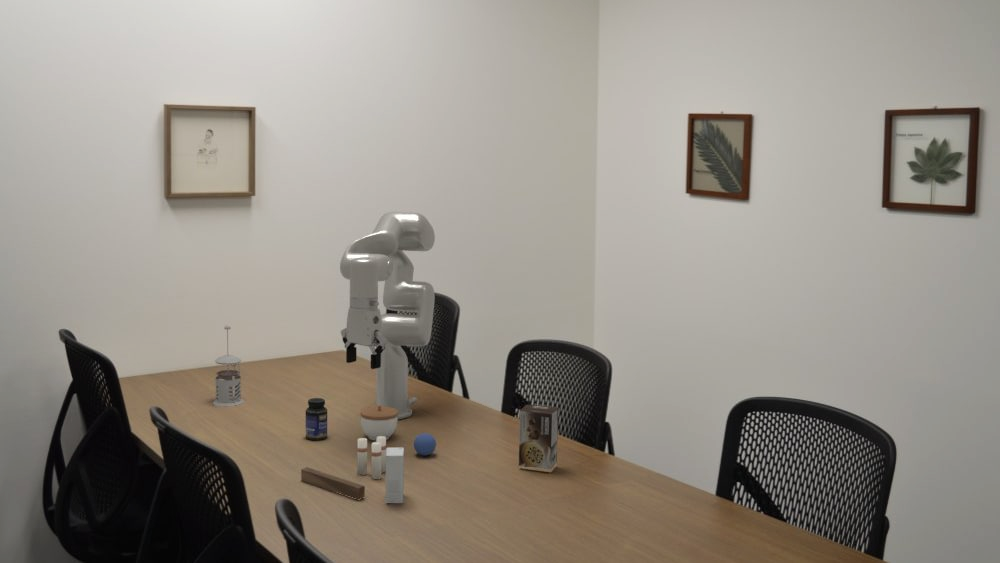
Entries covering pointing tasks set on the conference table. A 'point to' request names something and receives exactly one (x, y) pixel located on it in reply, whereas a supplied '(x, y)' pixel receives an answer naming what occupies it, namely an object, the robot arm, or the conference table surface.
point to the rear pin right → (362, 456)
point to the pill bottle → (316, 419)
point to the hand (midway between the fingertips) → (363, 365)
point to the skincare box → (394, 475)
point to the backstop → (332, 483)
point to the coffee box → (538, 436)
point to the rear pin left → (376, 460)
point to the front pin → (382, 452)
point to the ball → (424, 444)
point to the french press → (228, 381)
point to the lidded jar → (379, 421)
